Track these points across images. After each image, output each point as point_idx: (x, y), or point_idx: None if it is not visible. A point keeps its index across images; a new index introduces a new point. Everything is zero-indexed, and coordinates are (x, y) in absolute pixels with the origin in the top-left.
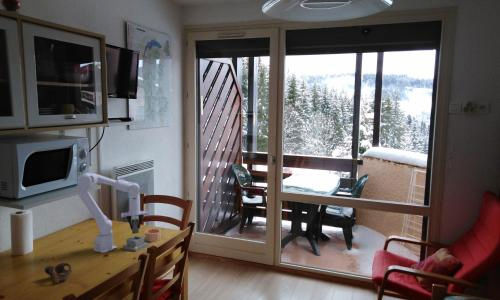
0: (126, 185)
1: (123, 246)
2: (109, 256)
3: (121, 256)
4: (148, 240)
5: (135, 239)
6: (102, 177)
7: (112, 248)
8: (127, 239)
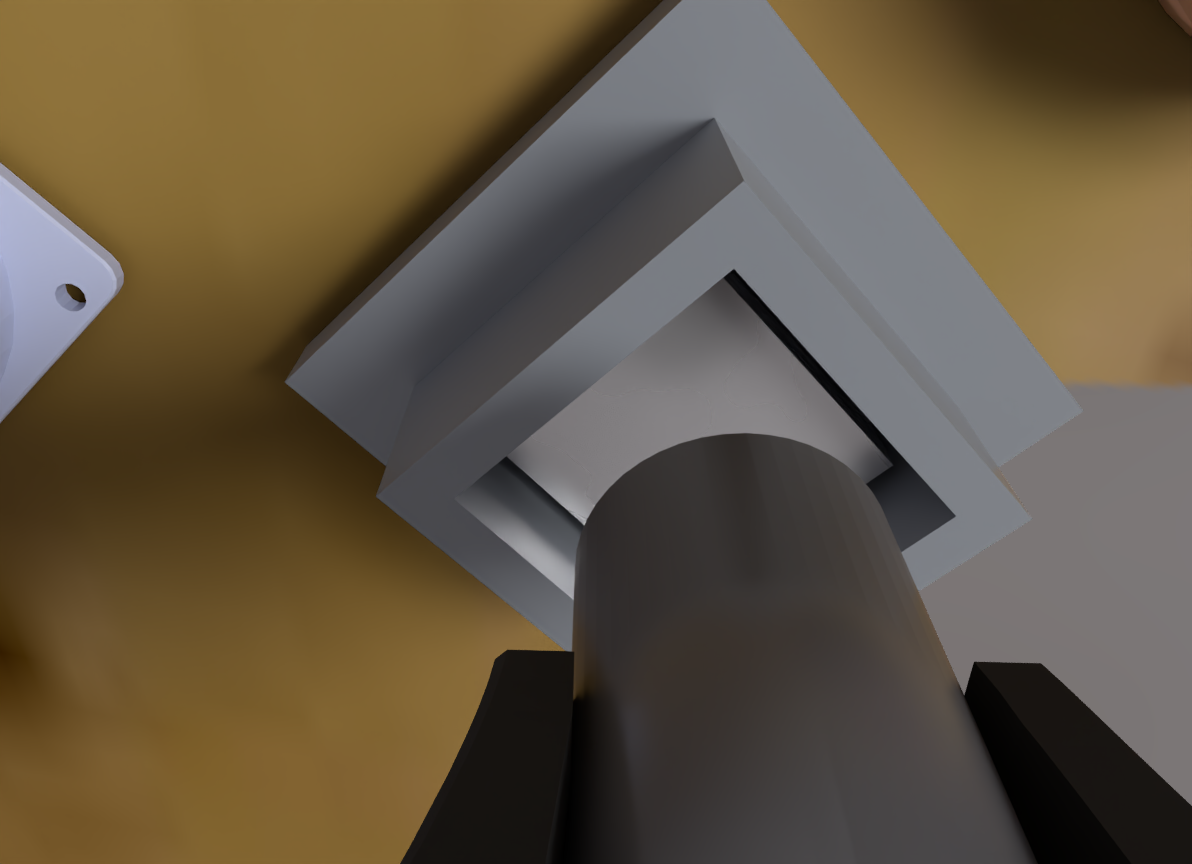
0: None
1: (323, 400)
2: (88, 725)
3: (348, 780)
4: (1187, 11)
5: (703, 339)
6: None
7: (18, 384)
8: (410, 520)
